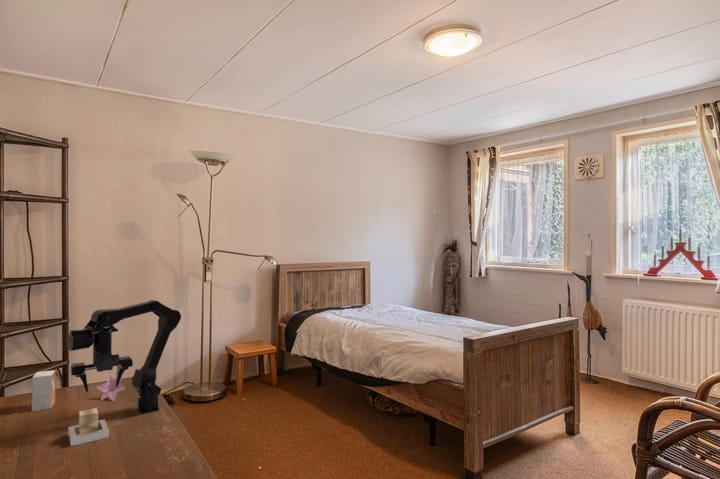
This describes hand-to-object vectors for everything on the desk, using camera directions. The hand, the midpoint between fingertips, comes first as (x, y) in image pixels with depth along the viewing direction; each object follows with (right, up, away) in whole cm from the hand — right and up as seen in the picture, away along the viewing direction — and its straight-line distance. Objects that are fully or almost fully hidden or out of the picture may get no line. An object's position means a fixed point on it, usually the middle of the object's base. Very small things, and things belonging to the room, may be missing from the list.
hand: (102, 389), depth 156 cm
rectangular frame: (+2, -12, -10) cm, 16 cm away
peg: (+2, -12, -10) cm, 16 cm away
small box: (-32, -12, +16) cm, 38 cm away
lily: (-11, -13, +26) cm, 31 cm away
